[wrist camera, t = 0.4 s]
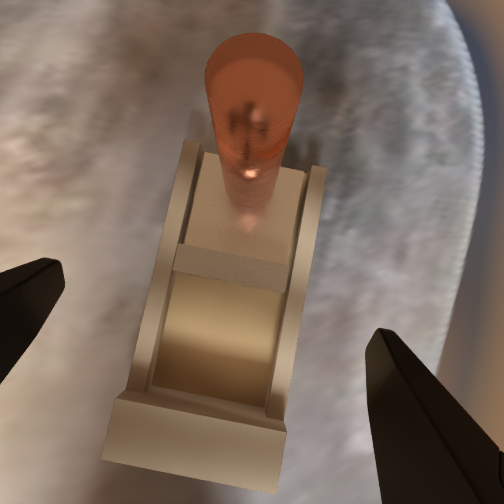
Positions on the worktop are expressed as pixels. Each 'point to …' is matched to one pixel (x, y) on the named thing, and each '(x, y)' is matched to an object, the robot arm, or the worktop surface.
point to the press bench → (214, 357)
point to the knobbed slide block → (246, 167)
